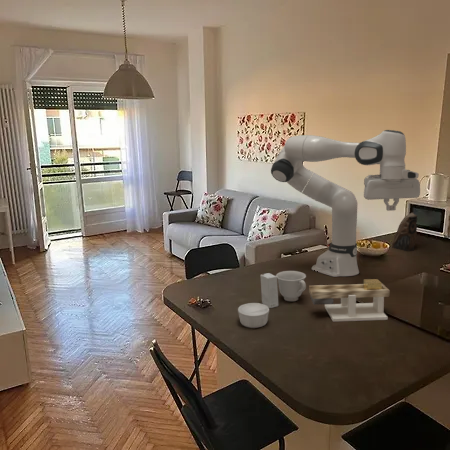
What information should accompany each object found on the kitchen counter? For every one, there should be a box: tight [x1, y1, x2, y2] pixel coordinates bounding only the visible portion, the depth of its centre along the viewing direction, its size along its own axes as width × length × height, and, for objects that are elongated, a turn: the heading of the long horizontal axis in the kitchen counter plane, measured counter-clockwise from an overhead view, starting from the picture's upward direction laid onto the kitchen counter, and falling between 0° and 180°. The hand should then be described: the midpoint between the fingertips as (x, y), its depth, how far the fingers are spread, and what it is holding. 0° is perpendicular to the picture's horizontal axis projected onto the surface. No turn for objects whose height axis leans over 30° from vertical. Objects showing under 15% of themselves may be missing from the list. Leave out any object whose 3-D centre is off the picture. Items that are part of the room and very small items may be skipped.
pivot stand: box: [324, 295, 389, 322], centre depth 149 cm, size 19×13×9 cm
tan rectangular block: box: [363, 278, 383, 290], centre depth 148 cm, size 5×4×4 cm
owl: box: [391, 212, 418, 252], centre depth 231 cm, size 13×13×20 cm
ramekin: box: [237, 302, 270, 329], centre depth 145 cm, size 11×11×5 cm
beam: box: [308, 283, 390, 305], centre depth 148 cm, size 27×8×5 cm, turn 89°
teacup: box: [275, 270, 307, 302], centre depth 164 cm, size 12×15×10 cm
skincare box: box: [259, 272, 279, 309], centre depth 160 cm, size 6×4×12 cm
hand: (390, 210), depth 156 cm, fingers closed
